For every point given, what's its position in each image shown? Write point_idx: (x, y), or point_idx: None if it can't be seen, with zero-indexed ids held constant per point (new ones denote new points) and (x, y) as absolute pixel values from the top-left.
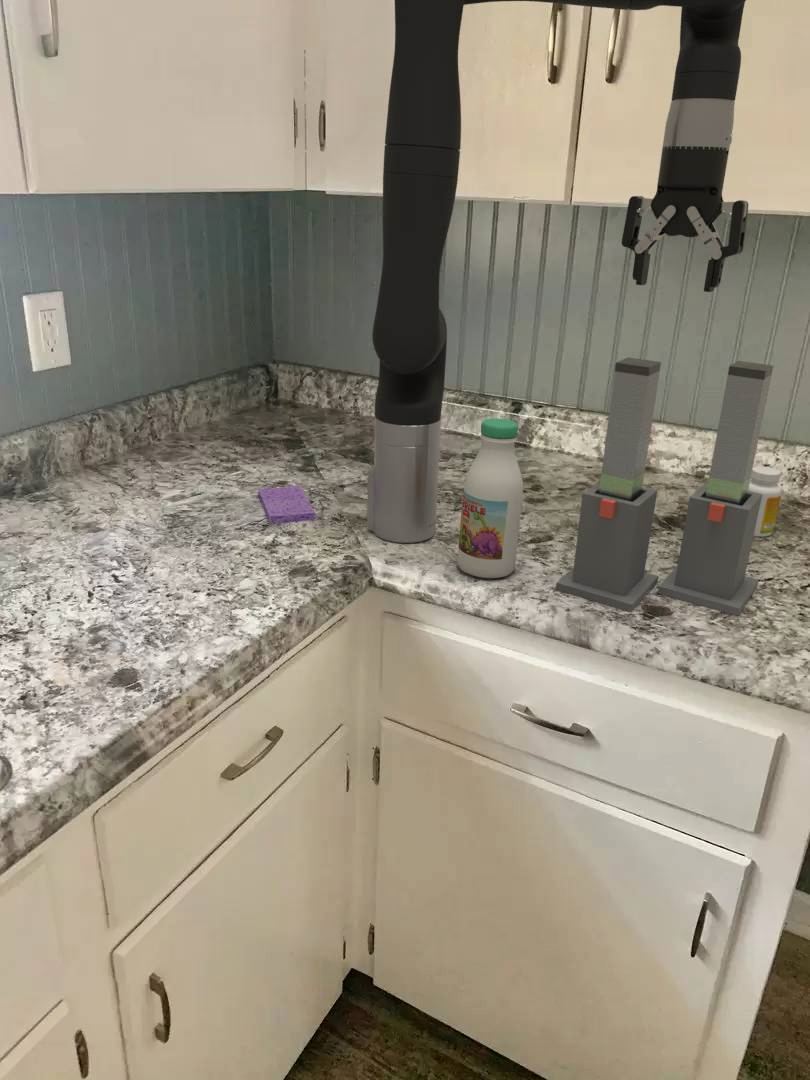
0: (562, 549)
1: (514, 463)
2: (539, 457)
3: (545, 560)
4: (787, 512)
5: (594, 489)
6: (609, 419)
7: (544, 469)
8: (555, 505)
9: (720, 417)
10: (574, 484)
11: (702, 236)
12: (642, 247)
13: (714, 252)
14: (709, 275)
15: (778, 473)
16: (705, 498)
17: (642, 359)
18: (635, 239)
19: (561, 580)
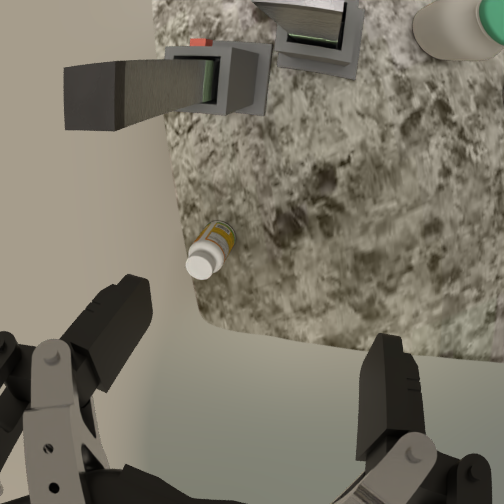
0: (385, 105)
1: (461, 11)
2: (430, 338)
3: (393, 71)
4: (203, 287)
5: (350, 15)
6: None
7: (426, 312)
8: (412, 222)
9: (166, 60)
10: (397, 286)
11: (58, 430)
12: (403, 457)
13: (53, 362)
14: (107, 304)
15: (186, 262)
16: (214, 54)
17: (301, 5)
18: (431, 497)
19: (361, 15)
